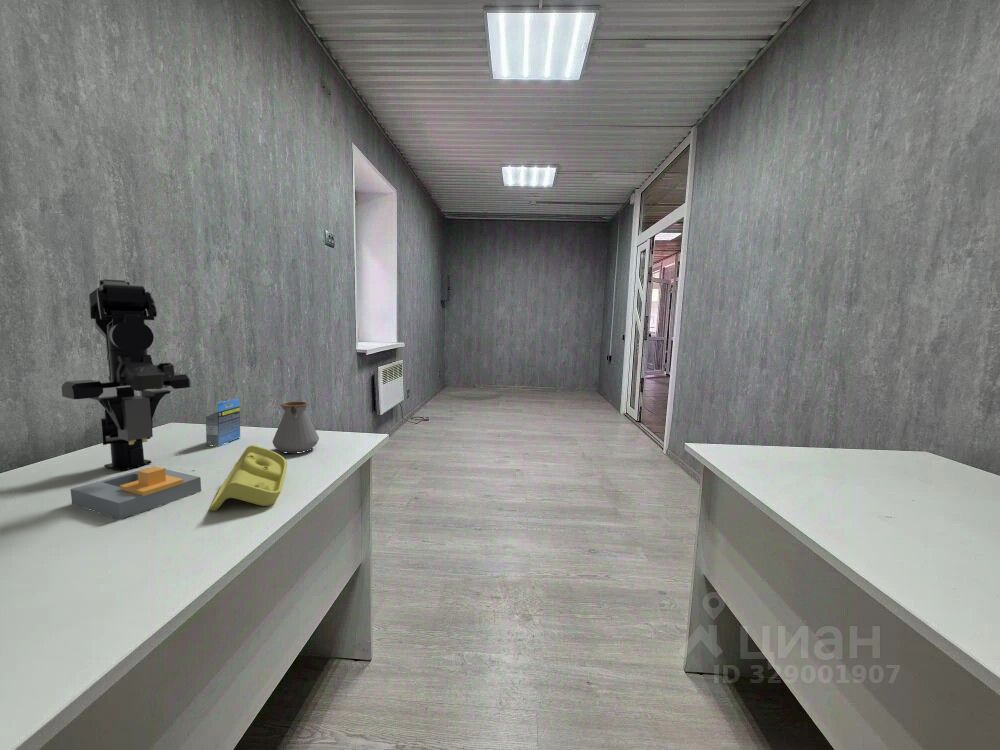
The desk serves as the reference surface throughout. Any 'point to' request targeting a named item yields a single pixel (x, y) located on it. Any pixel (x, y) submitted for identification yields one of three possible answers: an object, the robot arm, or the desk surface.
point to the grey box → (136, 419)
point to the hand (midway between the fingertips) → (134, 427)
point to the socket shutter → (151, 481)
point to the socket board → (130, 494)
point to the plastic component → (254, 478)
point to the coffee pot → (295, 429)
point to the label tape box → (223, 423)
